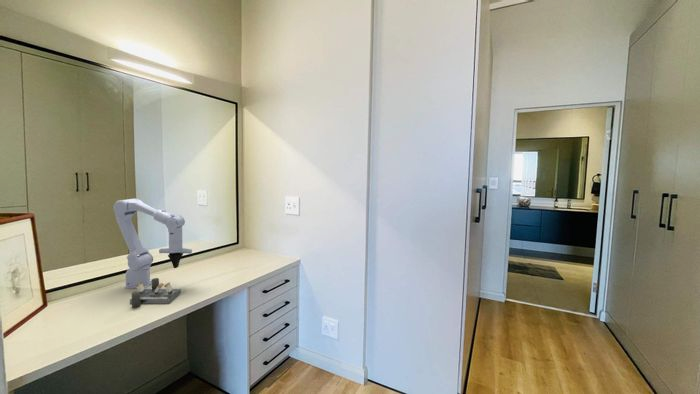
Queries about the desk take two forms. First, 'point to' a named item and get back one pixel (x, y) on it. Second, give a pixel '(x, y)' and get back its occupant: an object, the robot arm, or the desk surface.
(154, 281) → the cylinder
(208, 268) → the desk surface
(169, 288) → the orange and white block
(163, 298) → the breaker panel
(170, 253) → the robot arm
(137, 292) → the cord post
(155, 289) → the white and orange block
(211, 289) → the desk surface
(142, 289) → the white and orange block
